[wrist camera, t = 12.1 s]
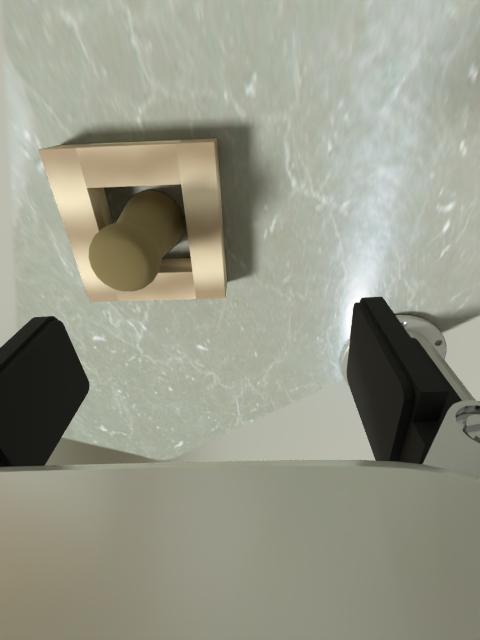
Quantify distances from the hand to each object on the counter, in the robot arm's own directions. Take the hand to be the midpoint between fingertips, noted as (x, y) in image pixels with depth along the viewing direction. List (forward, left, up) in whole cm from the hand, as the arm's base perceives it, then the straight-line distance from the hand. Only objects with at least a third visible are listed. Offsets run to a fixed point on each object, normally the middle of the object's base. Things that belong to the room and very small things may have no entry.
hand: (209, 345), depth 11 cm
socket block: (-3, +8, -24) cm, 26 cm away
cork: (-3, +8, -24) cm, 26 cm away
